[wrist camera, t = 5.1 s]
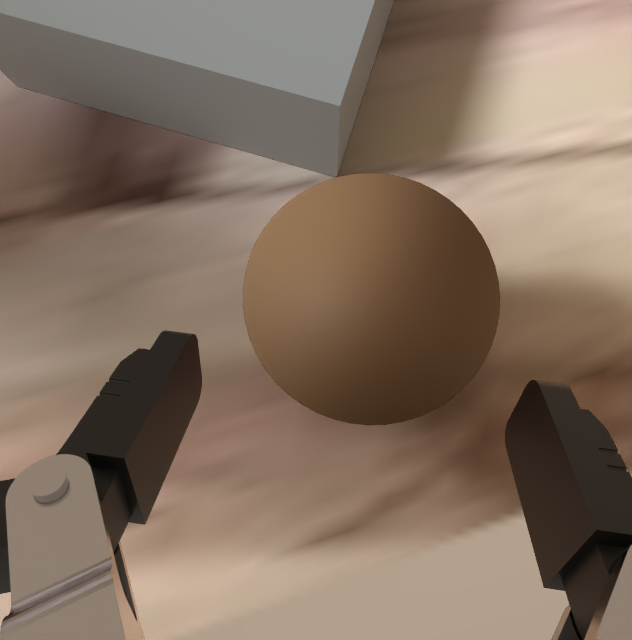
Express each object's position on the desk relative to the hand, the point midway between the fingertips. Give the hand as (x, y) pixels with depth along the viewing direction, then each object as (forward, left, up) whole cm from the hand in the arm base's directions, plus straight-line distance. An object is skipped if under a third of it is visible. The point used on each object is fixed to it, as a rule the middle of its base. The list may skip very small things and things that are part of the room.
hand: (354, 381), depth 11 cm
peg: (0, +2, -7) cm, 7 cm away
